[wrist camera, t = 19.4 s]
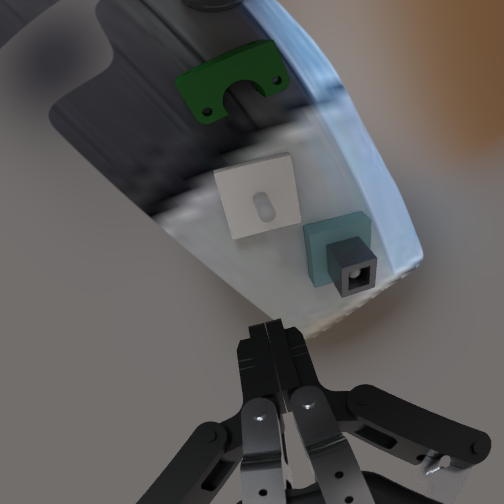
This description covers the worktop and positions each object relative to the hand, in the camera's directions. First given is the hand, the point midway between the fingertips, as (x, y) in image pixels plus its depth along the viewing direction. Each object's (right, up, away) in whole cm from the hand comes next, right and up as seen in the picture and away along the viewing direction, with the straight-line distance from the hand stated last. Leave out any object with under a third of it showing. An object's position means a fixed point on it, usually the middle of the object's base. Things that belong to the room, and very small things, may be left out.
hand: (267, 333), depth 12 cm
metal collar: (+13, +3, +29) cm, 32 cm away
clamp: (-3, +25, +16) cm, 30 cm away
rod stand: (0, +11, +25) cm, 28 cm away
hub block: (+13, +5, +31) cm, 34 cm away
